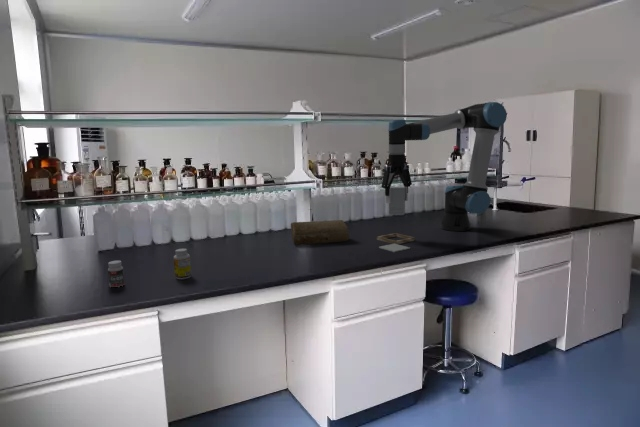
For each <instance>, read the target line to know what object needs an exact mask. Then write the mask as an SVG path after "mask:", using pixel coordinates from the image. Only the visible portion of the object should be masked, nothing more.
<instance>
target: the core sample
mask: <svg viewBox="0 0 640 427" xmlns="http://www.w3.org/2000/svg"><path fill="white" fill-rule="evenodd" d="M290 232H291V233H290V234H291V238H292V239H291V240H292V243H293V245H294V246H303V245H304V246H306V245H317V244H329V243H341V242H347V241H349V239H350V233H349V228H348V226H347V224H346V223H345V222H344V221H343V219H337V220H335V219H334V220H319V221H318V220H316V221H294V222H291V223H290Z"/></svg>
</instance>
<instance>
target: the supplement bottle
mask: <svg viewBox="0 0 640 427" xmlns="http://www.w3.org/2000/svg"><path fill="white" fill-rule="evenodd" d="M174 251H175V255H173V266H174V278H175V279H177V280H186V279H190V278H191V277H192V266H191V256H190V254H189V253H188V248H178V249H176V250H174Z"/></svg>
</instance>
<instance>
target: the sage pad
mask: <svg viewBox="0 0 640 427" xmlns="http://www.w3.org/2000/svg"><path fill="white" fill-rule="evenodd" d="M378 248H379V249H382V250H385V251H389V252H392V253H396V252H402V251H405V250H410V249H411V247H410V246H407V245H401V244H392V243H389V244H385V245H381V246H378Z"/></svg>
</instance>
